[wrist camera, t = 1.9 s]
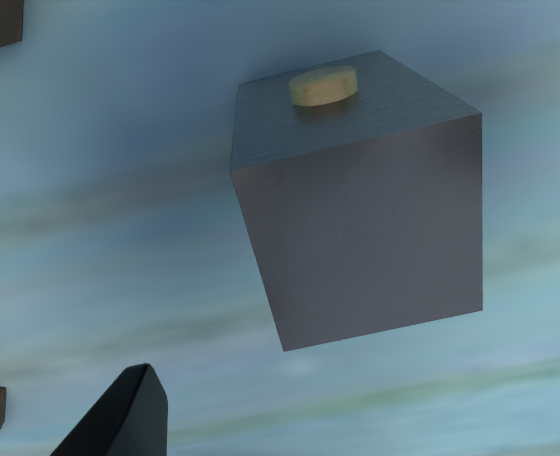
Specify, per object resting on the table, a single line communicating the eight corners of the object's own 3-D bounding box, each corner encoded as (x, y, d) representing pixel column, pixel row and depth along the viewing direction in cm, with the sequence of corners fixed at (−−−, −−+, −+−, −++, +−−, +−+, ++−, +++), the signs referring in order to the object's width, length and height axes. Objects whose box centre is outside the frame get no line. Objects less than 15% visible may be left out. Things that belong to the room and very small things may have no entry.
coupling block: (394, 191, 19) (482, 325, 12) (273, 218, 19) (287, 365, 12) (377, 34, 16) (481, 87, 9) (234, 69, 16) (223, 148, 9)
